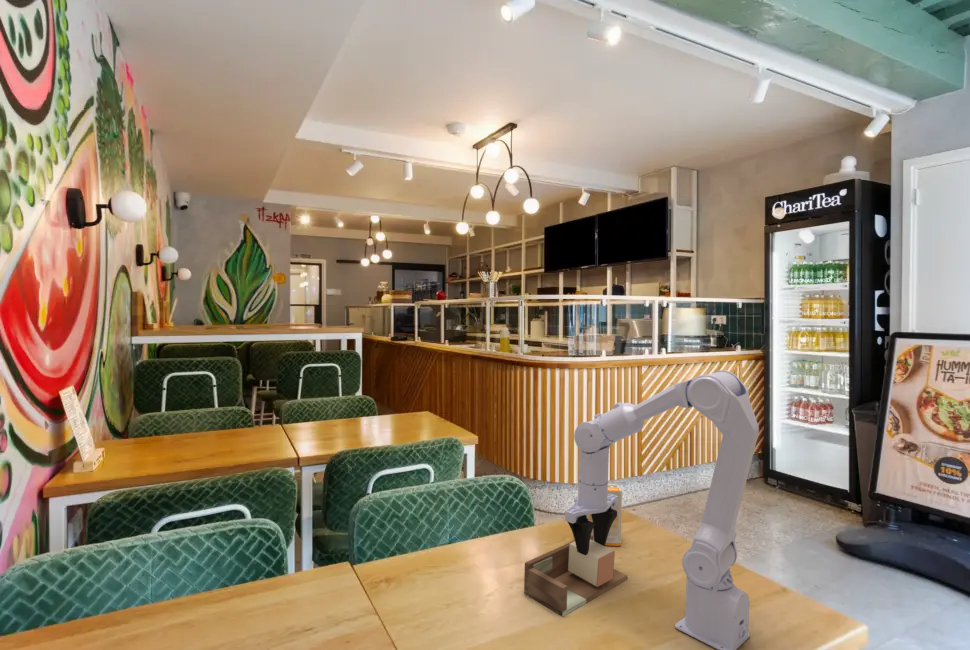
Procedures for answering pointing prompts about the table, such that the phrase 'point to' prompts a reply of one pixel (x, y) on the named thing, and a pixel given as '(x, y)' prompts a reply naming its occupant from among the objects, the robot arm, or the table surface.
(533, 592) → the shelf
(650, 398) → the robot arm
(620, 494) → the supplement box
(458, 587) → the table surface
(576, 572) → the cream rectangular block
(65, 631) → the table surface
